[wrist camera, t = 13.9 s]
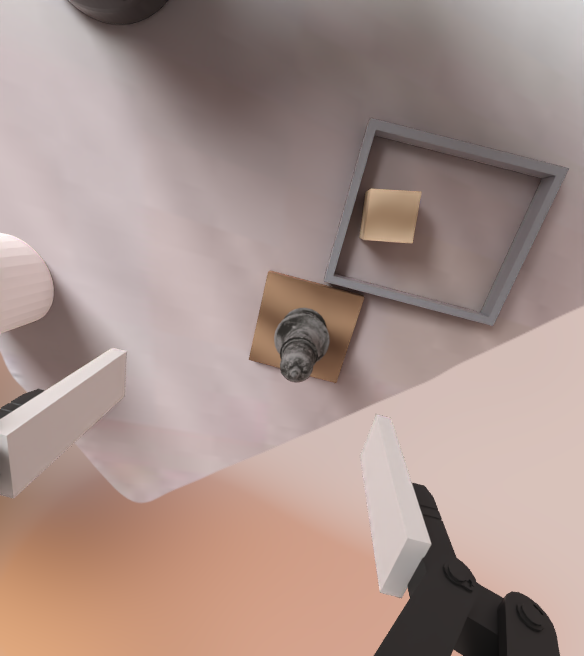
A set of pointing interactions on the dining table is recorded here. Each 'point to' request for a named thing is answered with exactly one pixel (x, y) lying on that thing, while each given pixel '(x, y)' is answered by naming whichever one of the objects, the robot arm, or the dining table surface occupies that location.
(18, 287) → the bottle
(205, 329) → the dining table surface
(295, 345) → the dark grey chess piece
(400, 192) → the beech block
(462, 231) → the dining table surface
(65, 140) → the dining table surface
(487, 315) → the tray
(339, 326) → the light brown wooden board
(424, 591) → the robot arm
